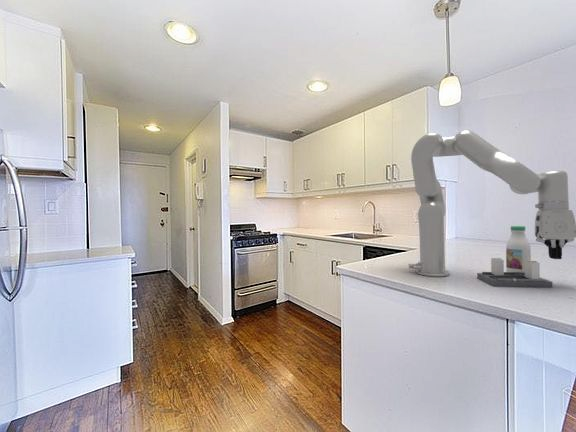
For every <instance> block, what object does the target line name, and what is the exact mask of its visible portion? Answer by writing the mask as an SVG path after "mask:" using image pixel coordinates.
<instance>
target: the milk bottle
mask: <svg viewBox="0 0 576 432" xmlns="http://www.w3.org/2000/svg"><path fill="white" fill-rule="evenodd" d="M510 232H511V234H510V237H509V238H508V240H507V243H506V247H505V248H506V249H505V253H506V254H505V255H506V256H505V257H506V259H505V261H506V266H505V267H506V268H505V270H506V271H505V272H525V261H532V250H531V244H530V242H529V240H528V239H527V237H526V234H525V233H526V226H525V225H511V226H510Z"/></svg>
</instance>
